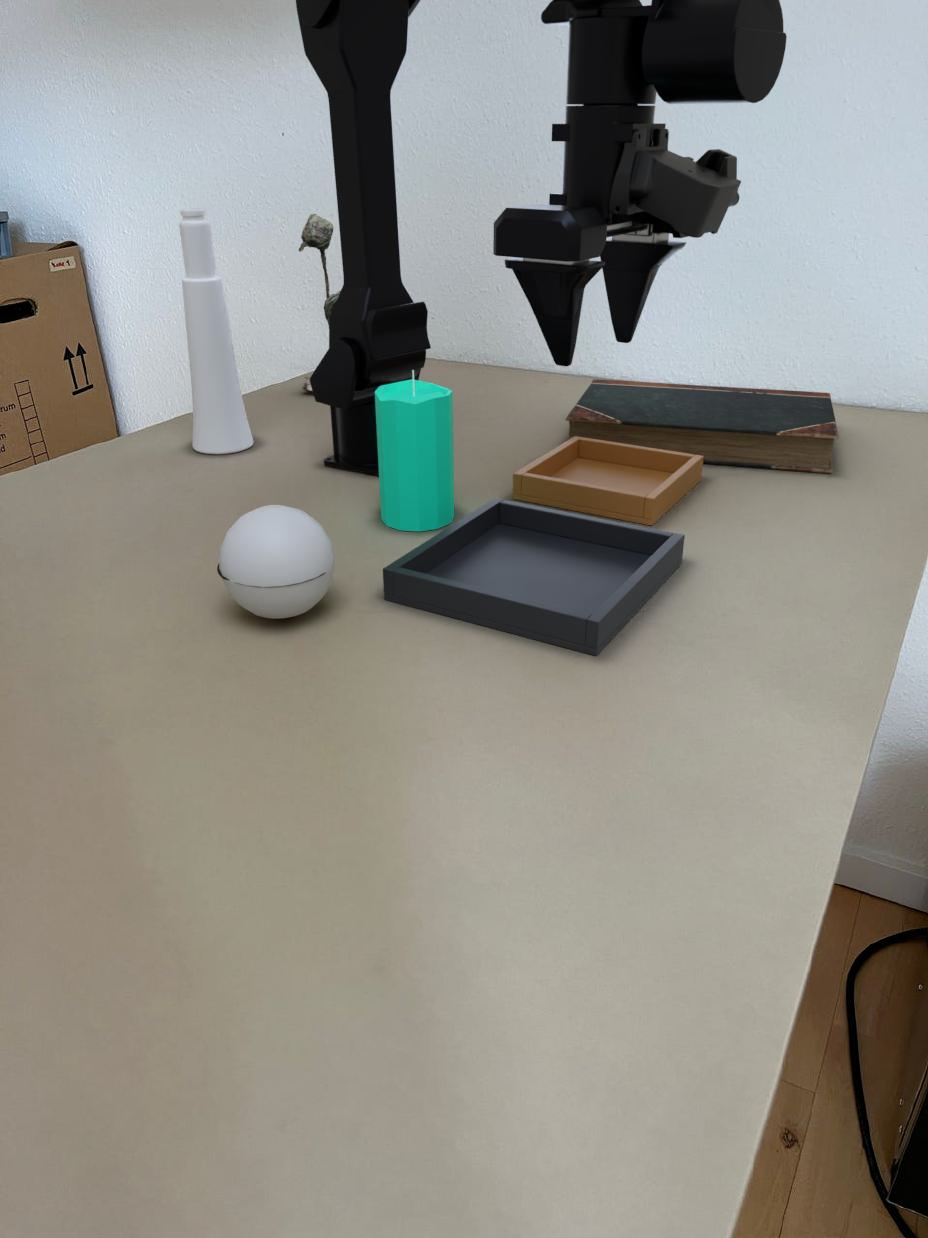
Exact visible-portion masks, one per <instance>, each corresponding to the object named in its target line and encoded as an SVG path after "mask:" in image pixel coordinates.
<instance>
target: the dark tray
mask: <svg viewBox="0 0 928 1238" xmlns="http://www.w3.org/2000/svg"><path fill="white" fill-rule="evenodd" d="M685 538H686V535H685V534H684V533H683V534H682V533H677V532H671V531H665V530H662V529H656V528H652V527H651V528H650V527H645V526H642V525H641V526H640V525H636V524H630V523H625V522H620V521H615V520H609V519H604V518H599V517H596V516H595V517H594V516H589V515H584V514H580V513H573V512H568V511H563V510H558V509H553V508H549V507H542V506H537V505H533V504H529V503H528V504H527V503H523V502H518V501H512V500H507V499H504V498H503V499H502V498H499V497H494V498H493V499H490V500H489V501H488V502H486V503H485V504H483V505H481V506H480V507H478V508H476V509H475V510H474V511H472V512H470V513H468V514H467V515H466V516H463V517H462V518H461V519H459V520H458V521H456V522H454V523H453V524H451V525H450V526H448V527H447V528H445V529H443V530H442V531H440V532H439V533H437V534H435V535H434V536H433V537H431V538H429V539H428V540H426V541H424V542H423V543H421V544H420V545H418V546H417V547H415V548H414V549H411V550H410V551H409V552H407V553H406V554H404V555H403V556H401V557H399V558H398V559H395V560H394V561H393V562H391V563H390V564H388V565H386V566H385V567H383V568H382V581H383V582H382V583H383V584H382V585H383V594H384V595H383V599H384V600H386V601H390V602H393V603H396V604H401V605H404V606H408V607H412V608H415V609H419V610H423V611H428V612H431V613H434V614H437V615H441V616H446V617H449V618H453V619H457V620H461V621H464V622H468V623H472V624H476V625H479V626H482V627H486V628H489V629H490V628H491V629H495V630H498V631H502V632H505V633H509V634H512V635H516V636H521V637H524V638H528V639H531V640H535V641H540V642H542V643H547V644H550V645H553V646H554V645H555V646H559V647H561V648H566V649H570V650H573V651H576V652H580V653H584V654H588V655H592V656H598V655H599V654H600V653H601V652H602V651H603V650H604V648H606V646H607V645H609V643H610V642H611V641H612V640H613V639H614V637H616V636H617V634H618V633H619V632H620V631H621V630H622V629H623V628H624V627H625V626H626V624H627V623H628V622H630V620H632V618H633V617H634V616H635V615H636V614H637V613H638V612H639V611H640V609H641V608H643V606H644V605H645V604H646V603H647V602H648V601H649V600H650V599H651V598H652V596H653V595H654V594H655V593H656V592H657V591H658V590H659V589H660V588H661V587H662V585H663V584H665V583H666V581H667V580H668V579H669V578H670V577H671V576H672V575H673V574H674V572H676V571H677V569H679V567H680V566H681V565H682V563H683V555H684V548H685V547H684V546H685Z"/></svg>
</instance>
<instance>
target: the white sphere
mask: <svg viewBox="0 0 928 1238" xmlns="http://www.w3.org/2000/svg"><path fill="white" fill-rule="evenodd" d="M218 560H219V561H218V564H217V567H216V570H217V574H218V575H219V577H220V578H221V579H222V582H223V585H224V586H225V589H226V591H227V593H228V594H229V596H231V597H232V599H233V600H234V601H235V603H236V604H237V605H239V606H240V607H242V608H243V609H245V610H246V611H249V612H250V613H252V614H253V615H255V616H257V617H261V618H265V619H274V620H275V619H276V620H278V619H288V618H293V617H297V616H299V615H302V614H305V613H306V612H308V611H310V610H311V609H312V608H314V606H316V605H317V604H318V603H319V602H320V601H321V600H322V599H323V597H324V596H325V595H326V594H327V592H328V590H329V588H330V586H331V583H332V582H333V579H334V568H335V567H334V566H335V552H334V548H333V544H332V541H331V538H330V537H329V536H328V534H327V533H326V530H325V529H324V528H323V526H322V525H321V524H320V523H319V522H318V521H317V520H316V519H315V518H313V517H312V516H311V515H309V514H308V513H306V512H305V511H304V510H301V509H299V508H296V507H290V506H288V505H282V504H269V505H263V506H260V507H258V508H255V509H253V510H250V511H249V512H247V513H244V514H243V515H241V516H240V517H239V518H238V519H237V520H236V521H235V522H234V523H233V524H232V525H231V526H230V528H229V529H227V532H226V534H225V537H224V539H223V542H222V544H221V546H220V549H219V559H218Z"/></svg>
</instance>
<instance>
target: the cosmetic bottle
mask: <svg viewBox="0 0 928 1238" xmlns="http://www.w3.org/2000/svg"><path fill="white" fill-rule="evenodd" d="M206 210H207V209H204V208H183V209H180V210H179V211H180V216H182V217H181V218H182V220H180V221H179V224H178V227H179V228H178V229H179V235H180V236H179V237H180V242H181V249H182V257H183V264H184V270H185V271H184V272H185V277H183V278H182V279H181V283H182V297H183V307H184V308H183V309H184V320H185V321H184V322H185V331H186V340H187V350H188V361H189V372H190V373H189V374H190V385H191V400H192V443H191V445H192V448H193V450H194V451H196V452H198V453H201V454H206V455H227V454H234V453H238V452H242V451H246V450H248V449H249V448H251V447H252V446H253V445H254V442H255V441H254V438H253V435H252V431H251V427H250V425H249V419H248V417H247V412H246V408H245V403H244V399H243V394H242V389H241V384H240V379H239V373H238V368H237V361H236V355H235V351H234V344H233V338H232V330H231V325H230V319H229V313H228V308H227V307H228V306H227V301H226V295H225V291H224V285H223V280H222V279H223V278H222V277H221V276H219V275H217V274H218V273H217V266H216V259H215V251H214V242H213V235H212V225H211V223H210V221H209V220H208V219H206V216H207V212H206Z"/></svg>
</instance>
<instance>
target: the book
mask: <svg viewBox="0 0 928 1238" xmlns="http://www.w3.org/2000/svg"><path fill="white" fill-rule="evenodd" d="M834 411H835V410H834V407H833V402H832V397H831V393H830V392H820V391H807V390H806V391H804V390H789V389H788V390H786V389H769V388H750V387H735V386H734V387H733V386H719V385H718V386H717V385H698V384H684V383H683V384H680V383H665V382H650V381H632V380H630V381H629V380H617V379H616V380H615V379H597V378H596V379H595V378H593V379H592V381H591V383H590V384H589V385H588V386H587V388H586V389H585V391H584V392H583V394H582V395H581V397H580V398H579V399H578V401H577V402H576V403H575V405H574V406H573V407H572V409H571V410H570V412H569V413H568V415H567V416H566V417H565V419H564V420H565V421H567V422H568V424H569V428H568V429H569V430H568V440H569V439H571V438H572V437H574V436H578V437H584V438H591V439H597V440H604V441H610V442H617V443H623V444H630V445H636V446H643V447H649V448H656V449H662V450H669V451H675V452H682V453H688V454H694V455H701V456H704V459H703V464H709V465H710V464H711V465H721V466H734V467H745V468H756V469H757V468H758V469H759V468H760V469H770V470H783V471H784V470H785V471H797V472H809V473H820V474H822V473H823V474H832V473H833V463H832V462H833V461H832V452H833V451H832V450H833V445H834V441H835V440H839V438H840V436H839V431H838V427H837V421H836V416H835V412H834Z"/></svg>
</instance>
